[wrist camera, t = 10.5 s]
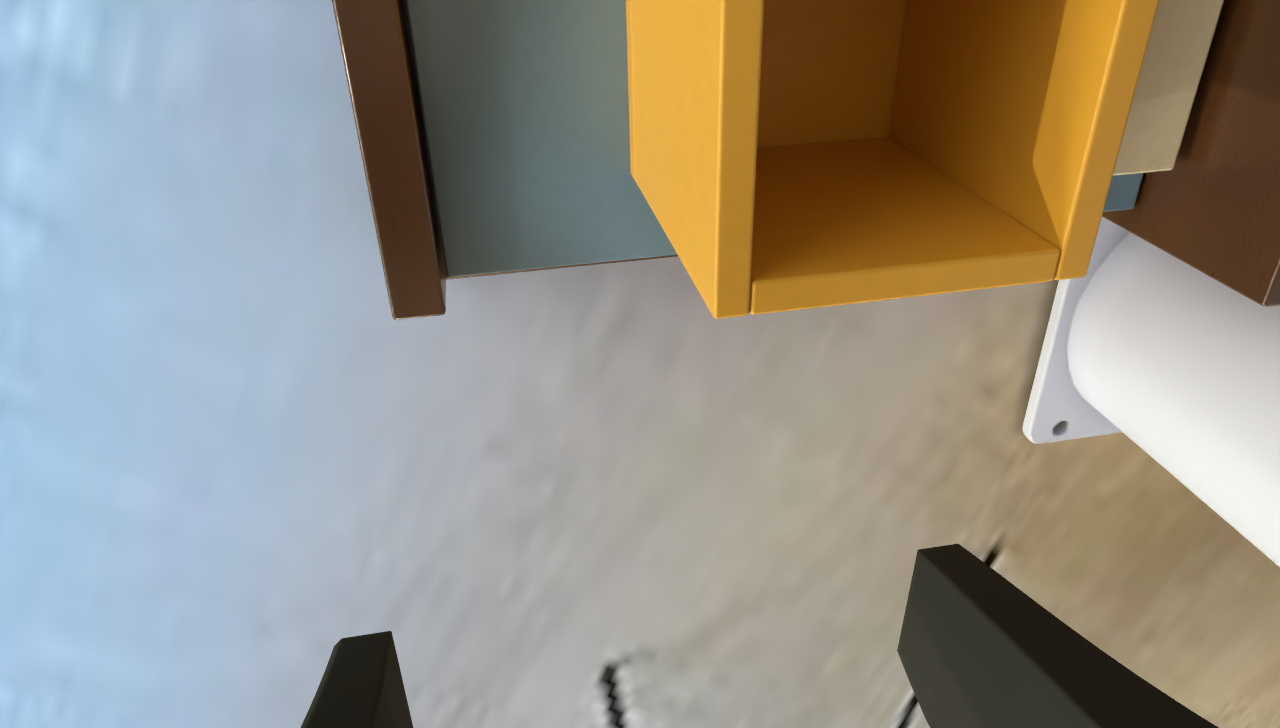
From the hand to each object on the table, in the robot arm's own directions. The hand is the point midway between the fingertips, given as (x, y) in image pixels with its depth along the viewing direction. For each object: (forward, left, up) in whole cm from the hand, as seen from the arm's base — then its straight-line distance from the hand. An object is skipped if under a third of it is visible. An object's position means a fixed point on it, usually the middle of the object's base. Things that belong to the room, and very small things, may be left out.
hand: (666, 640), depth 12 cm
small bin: (-4, -7, -8) cm, 11 cm away
